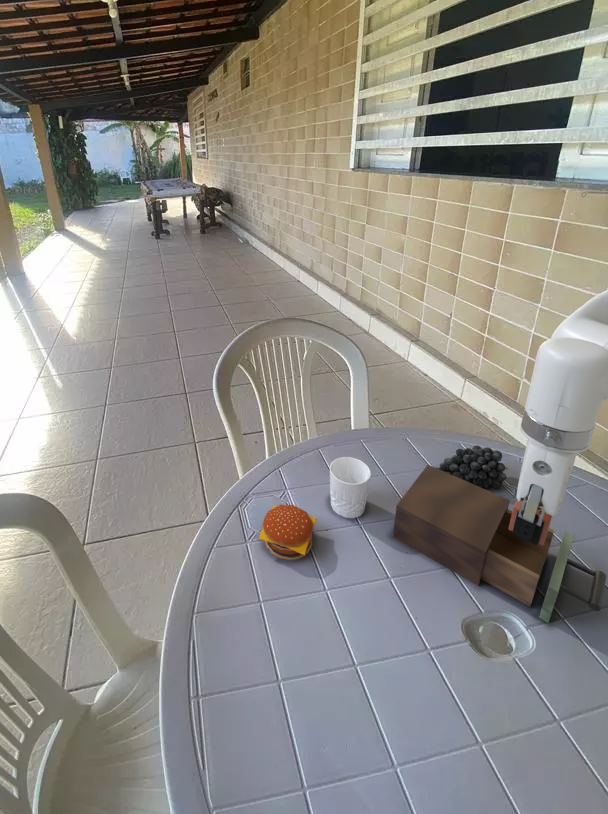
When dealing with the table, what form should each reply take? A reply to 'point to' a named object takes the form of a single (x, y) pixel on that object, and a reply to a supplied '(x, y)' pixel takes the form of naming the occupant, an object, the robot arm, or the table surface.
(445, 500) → the cabinet
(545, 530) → the block
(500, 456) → the fruit
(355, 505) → the white cup
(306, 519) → the hamburger
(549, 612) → the drawer
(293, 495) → the table surface
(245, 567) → the table surface
